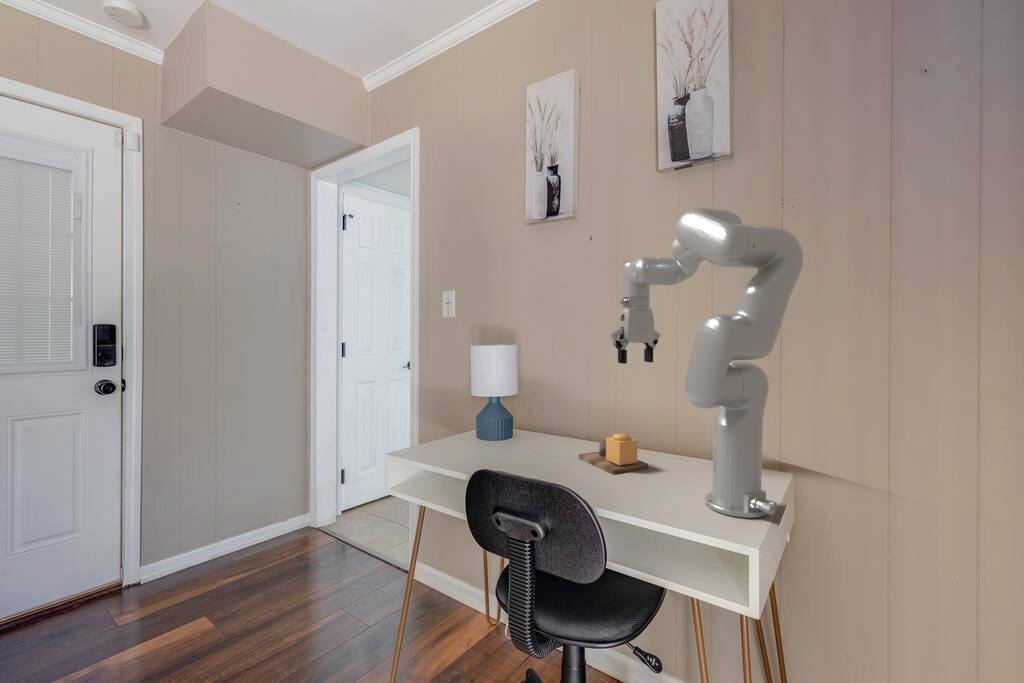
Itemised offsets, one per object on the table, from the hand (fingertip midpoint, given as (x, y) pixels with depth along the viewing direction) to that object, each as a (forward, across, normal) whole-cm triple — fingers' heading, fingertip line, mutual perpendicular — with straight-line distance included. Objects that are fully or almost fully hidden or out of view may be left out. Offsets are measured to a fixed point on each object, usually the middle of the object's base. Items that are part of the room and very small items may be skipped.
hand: (635, 362), depth 136 cm
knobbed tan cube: (+27, -9, -5) cm, 29 cm away
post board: (+28, -9, -1) cm, 30 cm away
